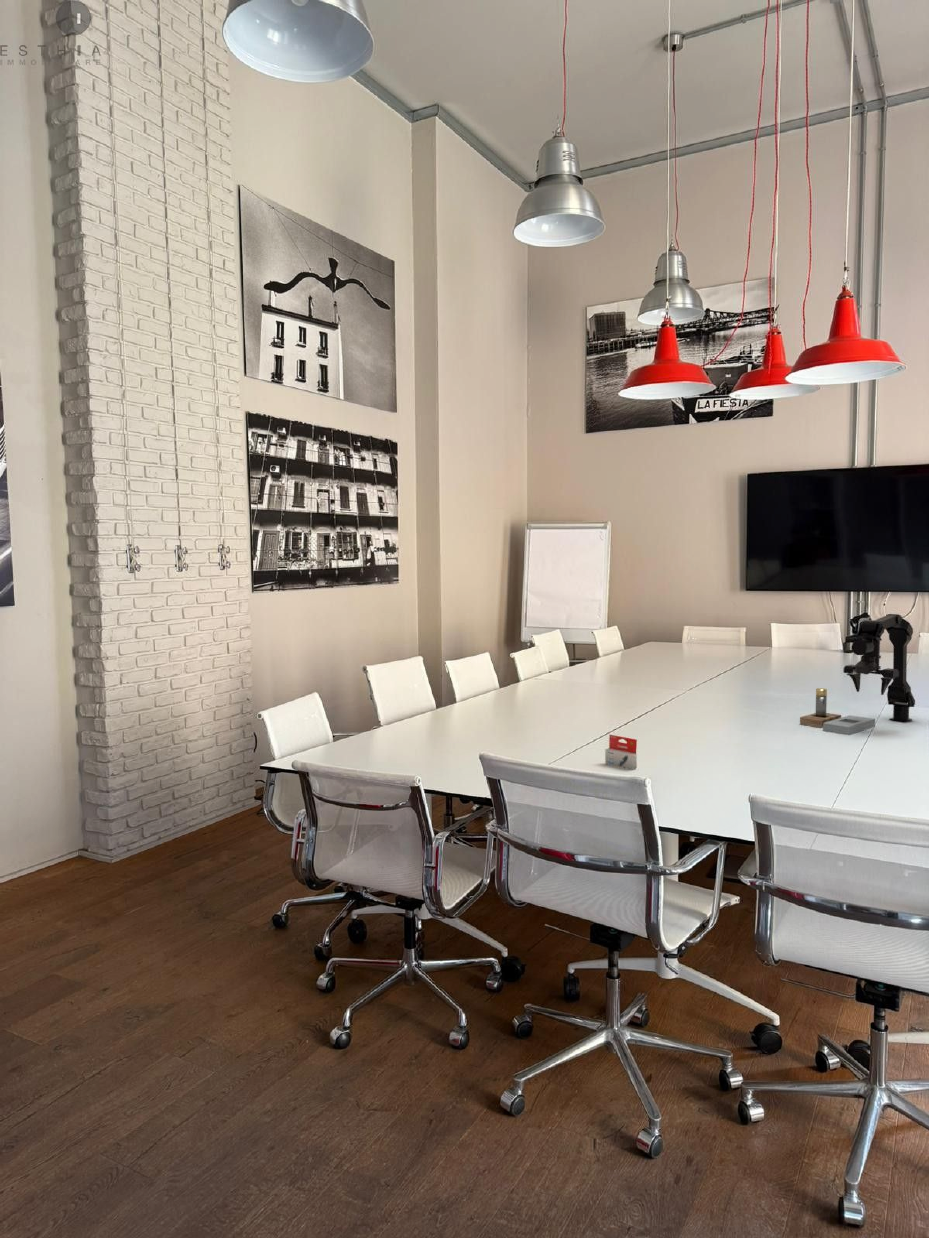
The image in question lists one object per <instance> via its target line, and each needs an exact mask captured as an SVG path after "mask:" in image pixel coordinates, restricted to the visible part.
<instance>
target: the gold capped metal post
mask: <svg viewBox="0 0 929 1238" xmlns="http://www.w3.org/2000/svg"><path fill="white" fill-rule="evenodd" d="M827 697H828V689H827V688H819V687H818V688H816V689H815V713H816V714H815V717H821V718H826V713H827V707H828V706H827V705H828V703H827V701H828V700H827Z"/></svg>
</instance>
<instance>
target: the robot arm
mask: <svg viewBox="0 0 929 1238" xmlns="http://www.w3.org/2000/svg"><path fill="white" fill-rule="evenodd" d="M885 631H886V633H887V634H888V640H889V641H890V643H891V644H892V646H893V653H892V654H893V657H892V658H893V661H892V662H893V664H892V665H893V668H889V667H887V668H884V669H881V667H882V666H880V659H882V655H880V652H881V651H880V650H881V641H882V638H881V637H882V635H883V634H884V633H885ZM913 633H914V628H913V627H912V625H911V623H910V622H909V621H908V620H906V619H904V618H903V616H902V615H901V614H900V613H899V614H898V613H888V614H886V615H884V616H882V617H880V618H877V619H875V620H874V619H864V620H863V621H862V622H861V623H860V626H859V628H858V630H857V633H856V636H855V638H856V640H855V641H854V642H853V643H852V644H851V651H852V653H853V654H854V655H857V656H861V657H860V660H859V661H858V662H857V663H855V664H848V665H844V666H843V673H844V674H846V676H849V677H850V678H851V680H852V682H853V684H854V687H855V690H856V692H857V693H859V692H860V689H861V677H862V676H861V675H862V674H863V675H869V674H873V675H881V676H882V677H880V679H881V687H880V695H881V696H883V695H884V694H885V692H886V691H887V693H886V698H887V704H888V705H889V706H893V707H892V708H893V709H892V713H893V714H892V717H890V718H889V720H890V721H896V722H902V723H907V722H910V721H913V718H910V708H914V707H915V705H916V700H915V698H914V695H913V693H912V687H911V685H910V684H909V683H908V681H907V671H908V670H907V668H908V667H907V664H908V663H907V661H908V660H907V658H908V652H907V650H908V644H910V642H911V640H912V637H913Z"/></svg>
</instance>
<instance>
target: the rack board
mask: <svg viewBox="0 0 929 1238" xmlns="http://www.w3.org/2000/svg"><path fill="white" fill-rule="evenodd" d="M875 726H876V719H875V718H870V717H865V716H858V715H851V714H850V715H846V716H841V718H839V719H835V720H832V721H828V722H825V723H823V728H822V731H823V732H829V733H835V734H841V735H847V736H850V735H853V734H856V733H858V732H862V731H865V730H868V729H872V728H874V727H875Z"/></svg>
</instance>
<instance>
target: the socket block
mask: <svg viewBox="0 0 929 1238" xmlns="http://www.w3.org/2000/svg"><path fill="white" fill-rule="evenodd" d="M815 714H816V712H813V713H812V714H811V713H810V714H807V715H803V716H799V725H801V726H806V727H812V728H818V729H823V723H825V722H828V721H832V720H835V719H839V718H842V714H836V713H830V712H829V713H828V712H826V718H821V717H815Z"/></svg>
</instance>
